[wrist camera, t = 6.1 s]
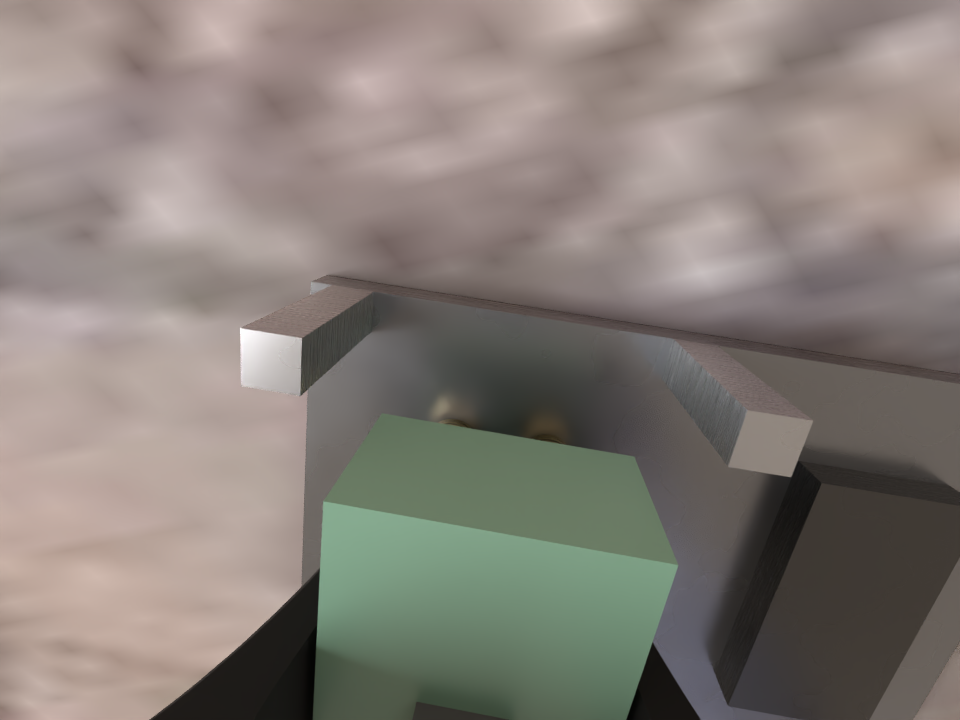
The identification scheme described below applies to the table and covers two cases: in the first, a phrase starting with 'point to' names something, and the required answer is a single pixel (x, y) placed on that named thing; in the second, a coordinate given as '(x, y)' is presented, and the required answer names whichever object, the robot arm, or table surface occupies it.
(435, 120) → the table surface
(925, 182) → the table surface
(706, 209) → the table surface
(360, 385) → the chassis
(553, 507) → the green block
